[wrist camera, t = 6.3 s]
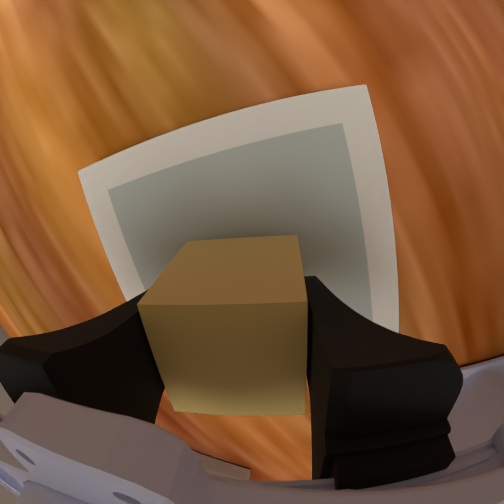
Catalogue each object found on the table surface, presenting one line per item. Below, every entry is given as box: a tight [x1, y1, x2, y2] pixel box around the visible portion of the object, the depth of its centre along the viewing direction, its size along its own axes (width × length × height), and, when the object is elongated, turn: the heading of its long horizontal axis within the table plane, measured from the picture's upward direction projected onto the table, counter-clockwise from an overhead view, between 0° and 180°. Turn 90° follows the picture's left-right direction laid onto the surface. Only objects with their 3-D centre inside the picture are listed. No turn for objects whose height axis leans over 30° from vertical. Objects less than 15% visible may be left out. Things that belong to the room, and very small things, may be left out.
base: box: [78, 84, 399, 333], centre depth 15 cm, size 14×14×2 cm
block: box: [137, 235, 308, 416], centre depth 11 cm, size 5×5×5 cm
